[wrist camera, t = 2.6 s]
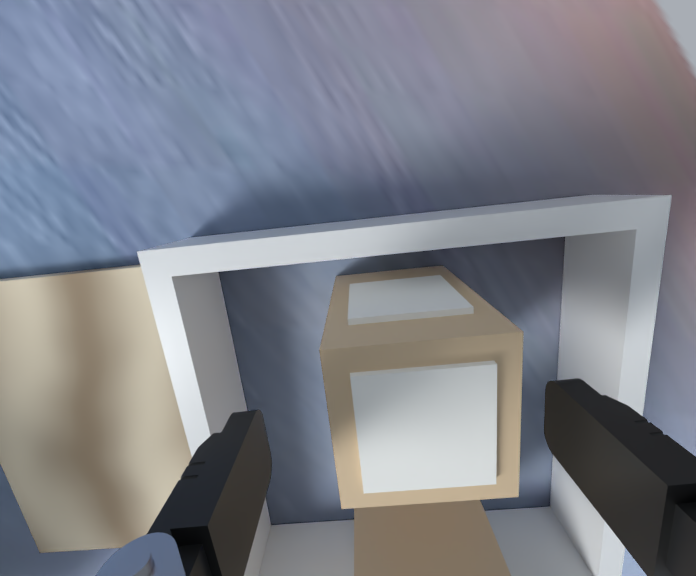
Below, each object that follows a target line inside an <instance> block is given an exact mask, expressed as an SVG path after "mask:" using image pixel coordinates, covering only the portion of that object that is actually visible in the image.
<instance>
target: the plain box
mask: <svg viewBox="0 0 696 576" xmlns="http://www.w3.org/2000/svg"><path fill="white" fill-rule="evenodd" d="M354 576H511V574H510V572H509V569H508V567H507V564H506V562H505V560H504V557H503V555H502V552H501V550H500V547H499V545H498V542H497V540H496V538H495V535H494V533H493V530H492V528H491V525H490V523H489V521H488V518H487V516H486V513H485V511H484V508H483V506H482V503H481V501H480V500H467V501H453V502H438V503H423V504H409V505H394V506H380V507H365V508H354Z"/></svg>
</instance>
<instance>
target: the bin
mask: <svg viewBox="0 0 696 576" xmlns="http://www.w3.org/2000/svg"><path fill="white" fill-rule="evenodd" d="M671 198H672V195H584V196H574V197H565V198H556V199H546V200H537V201H528V202H518V203H509V204H500V205H490V206H481V207H471V208H462V209H453V210H443V211H434V212H425V213H415V214H406V215H397V216H387V217H378V218H368V219H359V220H350V221H340V222H331V223H322V224H312V225H303V226H294V227H284V228H275V229H265V230H256V231H247V232H237V233H228V234H219V235H209V236H200V237H191V238H186V239H182V240H179V241H175V242H171V243H167V244H164V245H160V246H156V247H152V248H149V249H145V250H141V251H137V254H138V258H139V262H140V265H141V269H142V273H143V276H144V280H145V284H146V288H147V291H148V295H149V299H150V303H151V306H152V310H153V314H154V318H155V321H156V325H157V329H158V333H159V336H160V340H161V344H162V348H163V351H164V355H165V359H166V362H167V366H168V370H169V374H170V377H171V381H172V385H173V389H174V392H175V396H176V400H177V404H178V407H179V411H180V415H181V419H182V422H183V426H184V430H185V434H186V437H187V441H188V445H189V448H190V452H191V456H192V457H193V455H194V453H195V452H196V450H197V448H198V447H199V446H200V445H201V444H202V443H203V442H204V441H205V440H207V439H208V438H209V437H210V436H211V435H212V434H213V433H220V432H222V430H223V428H224V426H225V425H226V423H227V421H228V419H229V417H230V415H231V414H232V413H233V412H243V411H247V406H246V402H245V397H244V392H243V387H242V382H241V378H240V373H239V368H238V363H237V358H236V354H235V349H234V344H233V339H232V334H231V330H230V325H229V320H228V315H227V311H226V306H225V301H224V296H223V291H222V287H221V282H220V277H219V272H221V271H231V270H241V269H250V268H260V267H270V266H280V265H290V264H300V263H309V262H319V261H329V260H339V259H349V258H359V257H368V256H378V255H388V254H398V253H408V252H418V251H427V250H437V249H447V248H457V247H467V246H477V245H486V244H496V243H506V242H516V241H526V240H536V239H545V238H555V237H565V249H564V267H563V284H562V302H561V320H560V337H559V355H558V372H557V380H565V379H575V378H579V379H582V380H583V381H584V382H586V383H587V384H588V385H589V386H591V387H592V388H593V389H594V390H596V391H597V392H598V393H599V394H601V395H607V396H609V397H611V398H613V399H615V400H617V401H619V402H622V403H624V404H626V405H628V406H630V407H631V408H632V409H633V410H635V411H636V412H637V413H639V414H640V415H641V416H643V409H644V401H645V394H646V386H647V378H648V371H649V363H650V356H651V348H652V341H653V333H654V326H655V318H656V311H657V303H658V296H659V288H660V280H661V273H662V265H663V258H664V250H665V243H666V235H667V228H668V220H669V213H670V205H671ZM485 513H486V516H487V518H488V521H489V523H490V525H491V528H492V530H493V533H494V535H495V538H496V540H497V542H498V545H499V547H500V550H501V552H502V555H503V557H504V560H505V562H506V564H507V567H508V569H509V572H510V574H511V576H621V574H622V567H623V559H624V552H625V546H624V545H623V544H622V543H621V541H620V540H619V539H618V537H617V536H616V535H615V534H614V532H613V531H612V530H611V528H610V527H609V526H608V525H607V523H606V522H605V521H604V519H603V518H602V517H601V516H600V514H599V513H598V512H597V510H596V509H595V508H594V507H593V505H592V504H591V503H590V501H589V500H588V499H587V498H586V496H585V495H584V494H583V492H582V491H581V490H580V489H579V487H578V486H577V485H576V483H575V482H574V481H573V480H572V478H571V477H570V476H569V474H568V473H567V472H566V471H565V469H564V468H563V467H562V466H561V464H560V463H559V462H558V460H557V459H556V458H555V457H554V455H553V460H552V478H551V496H550V507H535V508H520V509H505V510H490V511H485ZM244 576H354V520H340V521H325V522H310V523H295V524H280V525H271V521H270V517H269V512H268V507H267V502H266V497H265V501H264V504H263V508H262V512H261V515H260V519H259V523H258V526H257V530H256V533H255V537H254V541H253V544H252V548H251V552H250V555H249V559H248V563H247V566H246V570H245V573H244Z"/></svg>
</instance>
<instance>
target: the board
mask: <svg viewBox="0 0 696 576" xmlns="http://www.w3.org/2000/svg"><path fill="white" fill-rule="evenodd" d="M191 458H192V456H191V452H190V448H189V445H188V441H187V437H186V434H185V430H184V426H183V422H182V419H181V415H180V411H179V407H178V404H177V400H176V396H175V392H174V389H173V385H172V381H171V377H170V374H169V370H168V366H167V362H166V359H165V355H164V351H163V348H162V344H161V340H160V336H159V333H158V329H157V325H156V321H155V318H154V314H153V310H152V306H151V303H150V299H149V295H148V291H147V288H146V284H145V280H144V276H143V273H142V269H141V265H131V266H121V267H112V268H102V269H92V270H83V271H73V272H64V273H54V274H44V275H35V276H25V277H15V278H6V279H0V464H1V466H2V468H3V471H4V473H5V475H6V477H7V480H8V482H9V484H10V487H11V489H12V491H13V493H14V496H15V498H16V500H17V502H18V505H19V507H20V509H21V511H22V514H23V516H24V518H25V520H26V523H27V525H28V527H29V530H30V532H31V534H32V536H33V539H34V541H35V543H36V545H37V548H38V550H39V552H40V553H47V552H63V551H78V550H93V549H109V548H122V547H123V546H125V545H126V544H128V543H129V542H131V541H133V540H135V539H137V538H139V537H141V536H144V535H146V534H147V533H148V531H149V529H150V528H151V526H152V524H153V523H154V521H155V519H156V517H157V516H158V514H159V512H160V511H161V509H162V507H163V506H164V504H165V502H166V501H167V499H168V497H169V496H170V494H171V492H172V491H173V489H174V487H175V485H176V484H177V482H178V480H181V475H182V474H183V472H184V470H185V469H186V467H187V466H189V462H190V460H191Z"/></svg>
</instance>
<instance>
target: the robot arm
mask: <svg viewBox="0 0 696 576" xmlns="http://www.w3.org/2000/svg"><path fill="white" fill-rule="evenodd" d="M544 434H545V438H546V442H547V444H548V447H549V449H550V451H551V452H552V454H553V455H554V457H555V458H556V459H557V460H558V462H559V463H560V464H561V466H562V467H563V468H564V469H565V471H566V472H567V473H568V474H569V476H570V477H571V478H572V480H573V481H574V482H575V483H576V485H577V486H578V487H579V489H580V490H581V491H582V492H583V494H584V495H585V496H586V498H587V499H588V500H589V501H590V503H591V504H592V505H593V507H594V508H595V509H596V510H597V512H598V513H599V514H600V516H601V517H602V518H603V519H604V521H605V522H606V523H607V525H608V526H609V527H610V528H611V530H612V531H613V532H614V534H615V535H616V536H617V537H618V539H619V540H620V541H621V543H622V544H623V545H624V546H625V548H626V549H627V550H628V552H629V553H630V554H631V555H632V557H633V558H634V559H635V561H636V562H637V563H638V564H639V566H640V567H641V568H642V570H643V571H644V572H645V573H646V575H647V576H696V457H695V456H694V455H693V454H691V453H690V452H689V451H687V450H686V449H685V448H683V447H682V446H681V445H679V444H678V443H677V442H675V441H674V440H673V439H672V438H670V437H669V436H668V435H664V434H663V432H662V431H661V430H660V429H658V428H657V427H656V426H654V425H653V424H652V423H648V422H647V419H645V418H644V417H643V416H641V415H640V414H639V413H637V412H636V411H635V410H633V409H632V408H631V407H630V406H628V405H626V404H624V403H622V402H619V401H617V400H615V399H613V398H611V397H609V396H607V395H601V394H599V393H598V392H597V391H596V390H594V389H593V388H592V387H591V386H589V385H588V384H587V383H586V382H584V381H583V380H582V379H579V378H575V379H565V380H555V381H549V382H548V383H547V385H546V390H545V416H544ZM271 471H272V459H271V452H270V448H269V443H268V438H267V433H266V429H265V424H264V419H263V415H262V413H261V411H260V410H252V411H243V412H233V413H232V414H231V415H230V417H229V419H228V421H227V423H226V425H225V426H224V428H223V430H222V432H220V433H213V434H212V435H211V436H210V437H209V438H208V439H207V440H205V441H204V442H203V443H202V444H201V445H200V446H199V447H198V448H197V450H196V452H195V453H194V455H193V457H192V458H191V460H190V462H189V466H187V467H186V469H185V470H184V472H183V474H182V475H181V480H178V482H177V484H176V485H175V487H174V489H173V491H172V492H171V494H170V496H169V497H168V499H167V501H166V502H165V504H164V506H163V507H162V509H161V511H160V512H159V514H158V516H157V517H156V519H155V521H154V523H153V524H152V526H151V528H150V529H149V531H148V533H147V534H146V535H144V536H141V537H139V538H137V539H135V540H133V541H131V542H129V543H128V544H126V545H125V546H123V547H122V548H121V549H119V550H118V551H117V552H116V553H114V554H113V555H112V556H111V557H110V558H109V559H108V560H107V561H106V562H105V563H104V565H103V566H102V567H101V569H100V570H99V571H98V573H97V574H96V576H244V573H245V570H246V566H247V563H248V559H249V555H250V552H251V548H252V544H253V541H254V537H255V533H256V530H257V526H258V523H259V519H260V515H261V512H262V508H263V504H264V501H265V497H266V493H267V490H268V486H269V483H270V479H271Z"/></svg>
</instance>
